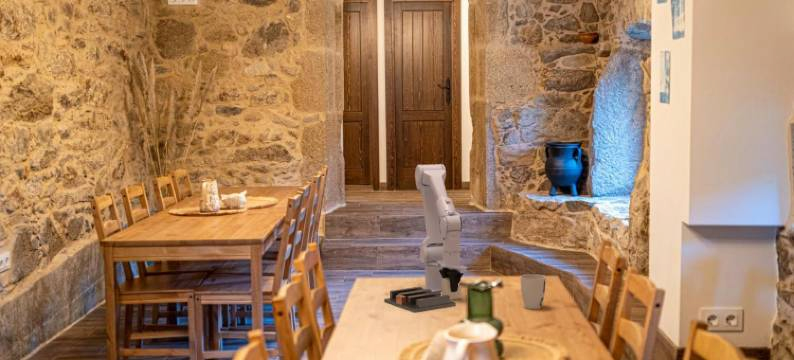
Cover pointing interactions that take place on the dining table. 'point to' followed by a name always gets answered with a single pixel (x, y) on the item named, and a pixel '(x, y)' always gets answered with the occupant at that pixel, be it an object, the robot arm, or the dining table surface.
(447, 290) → the tall beige block
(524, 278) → the cup
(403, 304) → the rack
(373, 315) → the dining table surface
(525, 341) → the dining table surface
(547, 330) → the dining table surface
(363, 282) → the dining table surface
